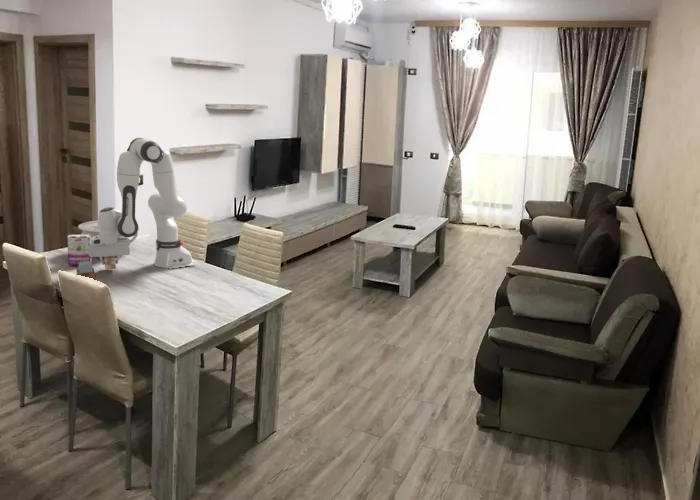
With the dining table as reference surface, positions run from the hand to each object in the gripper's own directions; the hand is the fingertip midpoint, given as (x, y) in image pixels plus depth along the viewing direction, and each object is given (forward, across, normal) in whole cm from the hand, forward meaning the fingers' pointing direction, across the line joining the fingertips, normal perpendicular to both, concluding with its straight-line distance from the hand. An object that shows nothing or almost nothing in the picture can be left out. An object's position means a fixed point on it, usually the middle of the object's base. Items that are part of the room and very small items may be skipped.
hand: (110, 263), depth 320 cm
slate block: (0, +12, +10) cm, 16 cm away
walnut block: (+4, +12, +9) cm, 16 cm away
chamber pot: (+4, 0, -31) cm, 32 cm away
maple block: (+2, 0, 0) cm, 2 cm away
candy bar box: (+4, +14, -13) cm, 20 cm away
